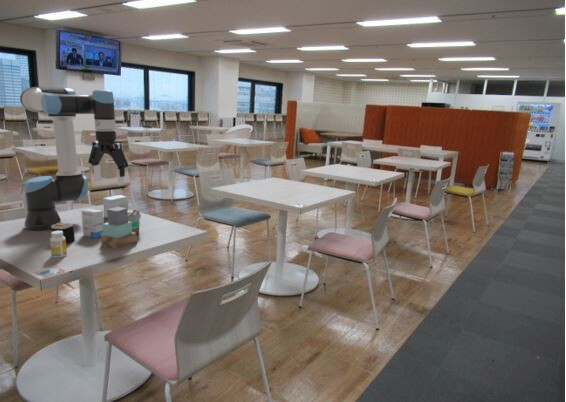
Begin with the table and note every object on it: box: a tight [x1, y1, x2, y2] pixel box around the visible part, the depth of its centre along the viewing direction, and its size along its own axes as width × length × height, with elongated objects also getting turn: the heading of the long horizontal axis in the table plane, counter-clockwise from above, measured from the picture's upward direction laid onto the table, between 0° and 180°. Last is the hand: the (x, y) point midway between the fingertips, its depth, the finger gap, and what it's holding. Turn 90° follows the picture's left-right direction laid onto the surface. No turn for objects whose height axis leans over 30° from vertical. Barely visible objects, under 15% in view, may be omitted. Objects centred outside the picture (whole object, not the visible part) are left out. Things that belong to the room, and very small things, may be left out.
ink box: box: [81, 208, 104, 239], centre depth 183 cm, size 9×5×12 cm, turn 65°
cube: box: [107, 207, 128, 225], centre depth 170 cm, size 6×6×6 cm
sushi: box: [50, 222, 76, 245], centre depth 174 cm, size 8×8×8 cm
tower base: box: [100, 232, 138, 251], centre depth 173 cm, size 10×10×5 cm
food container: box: [128, 209, 142, 237], centre depth 185 cm, size 12×6×10 cm, turn 168°
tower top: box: [102, 221, 132, 238], centre depth 171 cm, size 8×8×5 cm
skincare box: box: [102, 194, 129, 219], centre depth 214 cm, size 10×6×10 cm, turn 147°
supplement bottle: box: [49, 231, 68, 259], centre depth 158 cm, size 5×5×10 cm
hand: (109, 182), depth 167 cm, fingers open, 13 cm apart
